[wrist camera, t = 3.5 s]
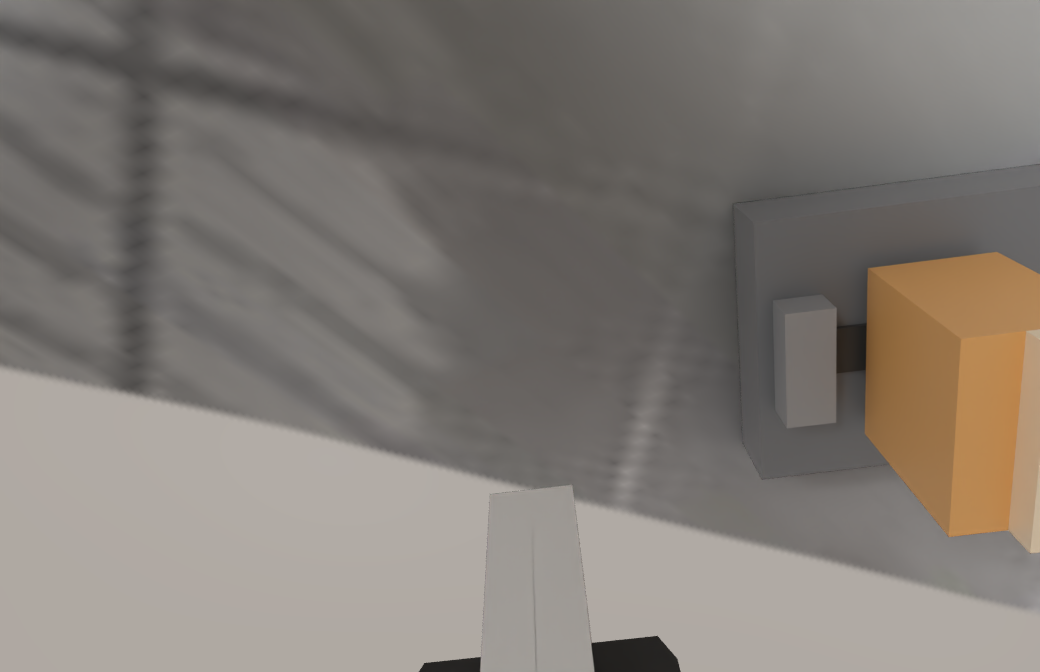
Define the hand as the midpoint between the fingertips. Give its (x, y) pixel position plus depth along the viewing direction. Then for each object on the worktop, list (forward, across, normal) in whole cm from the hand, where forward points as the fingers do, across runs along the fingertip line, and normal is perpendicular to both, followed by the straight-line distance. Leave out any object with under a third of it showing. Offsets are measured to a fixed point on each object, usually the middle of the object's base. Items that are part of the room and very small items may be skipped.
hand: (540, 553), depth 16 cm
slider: (+6, +10, 0) cm, 12 cm away
